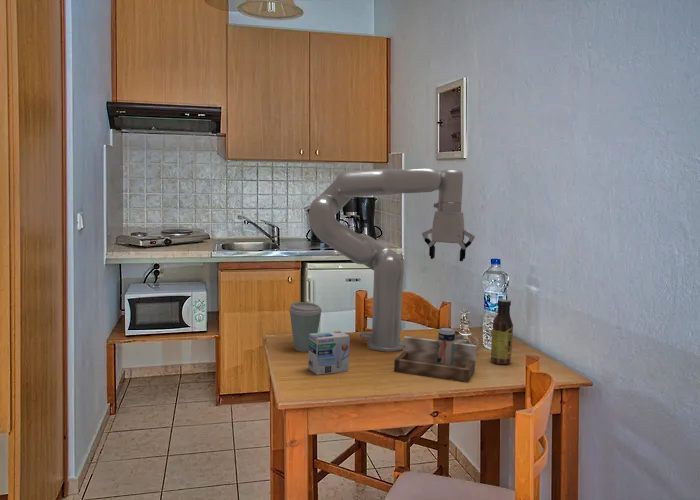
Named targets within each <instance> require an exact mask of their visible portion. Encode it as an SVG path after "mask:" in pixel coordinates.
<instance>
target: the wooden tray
mask: <svg viewBox="0 0 700 500" xmlns="http://www.w3.org/2000/svg"><path fill="white" fill-rule="evenodd" d="M403 343H404V345H403V349H402V352H401V353H400V354H398V356H396V358H395V359H394V361H393V363H394V365H393V372H394V373H395V372H398V373H403V374H409V375H410V374H411V375H417V376H423V377H424V376H425V377H430V378H439V379H444V380H450V379H453V380H452V381H457V380H461V381H460V382H464V381H469V382H470V380H471V378H472V377H471V376H473V375H474V373H475V372H474V371H476V355H477V345H476V344H472V343H471V344H472V345H471V344H463V343H455V342H454V358H453V366H446V365H439V364H437V351H438V339H430V338H423V337H417V336H416V337H415V336H407V335H404V336H403ZM472 374H473V375H472Z"/></svg>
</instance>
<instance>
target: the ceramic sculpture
mask: <svg viewBox="0 0 700 500" xmlns="http://www.w3.org/2000/svg"><path fill="white" fill-rule="evenodd" d="M454 332H455V341H454V342H455V343H463V344H471V345H473V344H472V343H471V341H470V340H465V338H464V337H463V336H464V335H463V334H461V333H460V332H459V331H457V330H454Z"/></svg>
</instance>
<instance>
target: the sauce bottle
mask: <svg viewBox="0 0 700 500" xmlns="http://www.w3.org/2000/svg"><path fill="white" fill-rule="evenodd" d="M511 305H512V300H511V299H503V298H501V299H497V312H496V313H497V314H496V316H495V317H494V319H493V320H492V321H493V322H492V331H491V345H490V346H491V348H490V350H491V351H490V356H491V358H490V361H491V362H492V363H494V364H497V365H508V364H510V363H511V360H512V352H513V349H512V347H513V334H514V333H513V332H514V331H513V330H514V323H513V321H512V317H511Z"/></svg>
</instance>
